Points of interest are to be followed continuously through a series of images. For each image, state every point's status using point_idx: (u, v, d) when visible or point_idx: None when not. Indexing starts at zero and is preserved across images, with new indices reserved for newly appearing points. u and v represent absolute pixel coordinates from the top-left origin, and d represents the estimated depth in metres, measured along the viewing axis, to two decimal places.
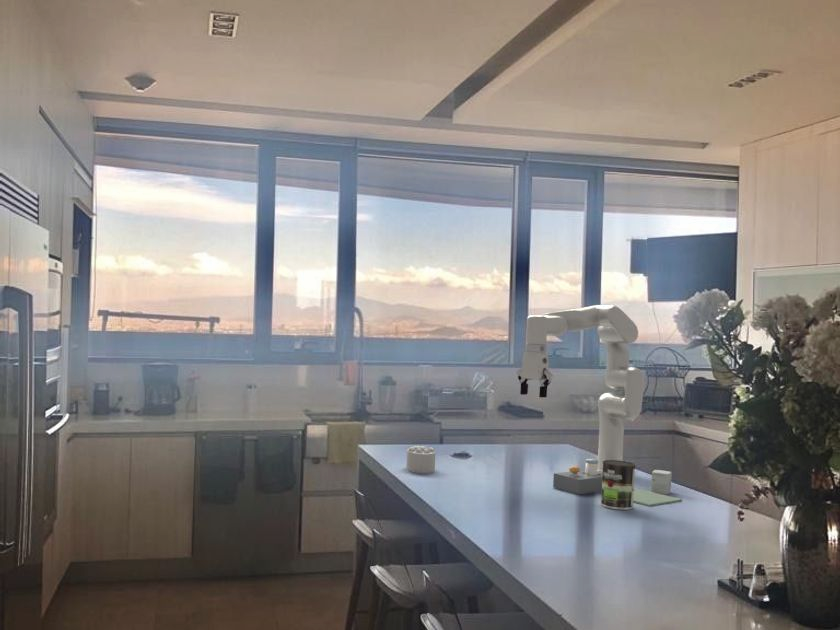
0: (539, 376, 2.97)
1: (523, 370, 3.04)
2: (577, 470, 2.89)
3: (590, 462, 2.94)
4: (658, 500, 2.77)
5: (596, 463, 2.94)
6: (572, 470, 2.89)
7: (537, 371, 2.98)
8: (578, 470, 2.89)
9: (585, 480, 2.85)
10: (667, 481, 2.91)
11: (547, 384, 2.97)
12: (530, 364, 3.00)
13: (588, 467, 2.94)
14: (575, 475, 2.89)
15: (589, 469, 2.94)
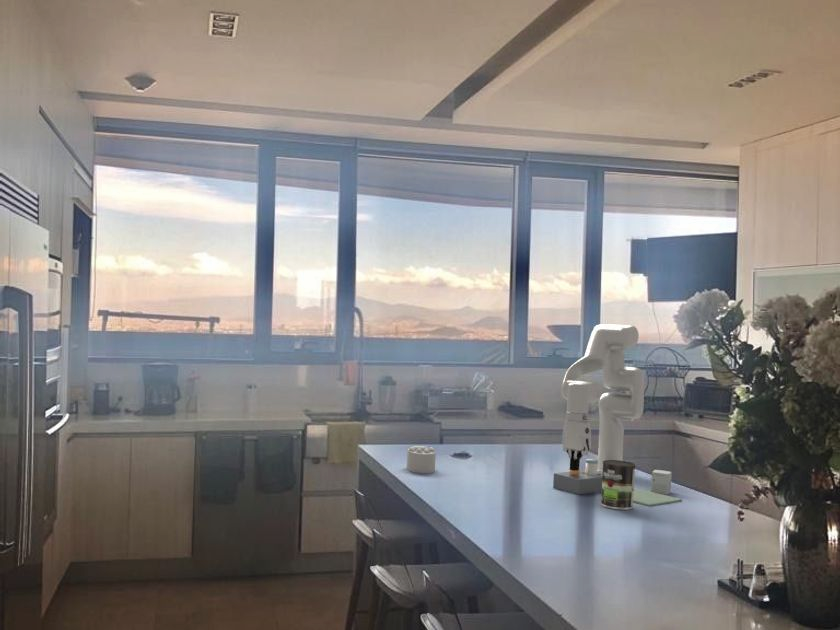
0: (581, 447, 2.85)
1: (564, 439, 2.92)
2: (577, 473, 2.89)
3: (590, 462, 2.94)
4: (658, 500, 2.77)
5: (596, 463, 2.94)
6: (572, 473, 2.89)
7: (579, 441, 2.86)
8: (578, 473, 2.89)
9: (585, 480, 2.85)
10: (667, 481, 2.91)
11: (580, 457, 2.88)
12: (571, 434, 2.88)
13: (588, 467, 2.94)
14: None
15: (589, 469, 2.94)
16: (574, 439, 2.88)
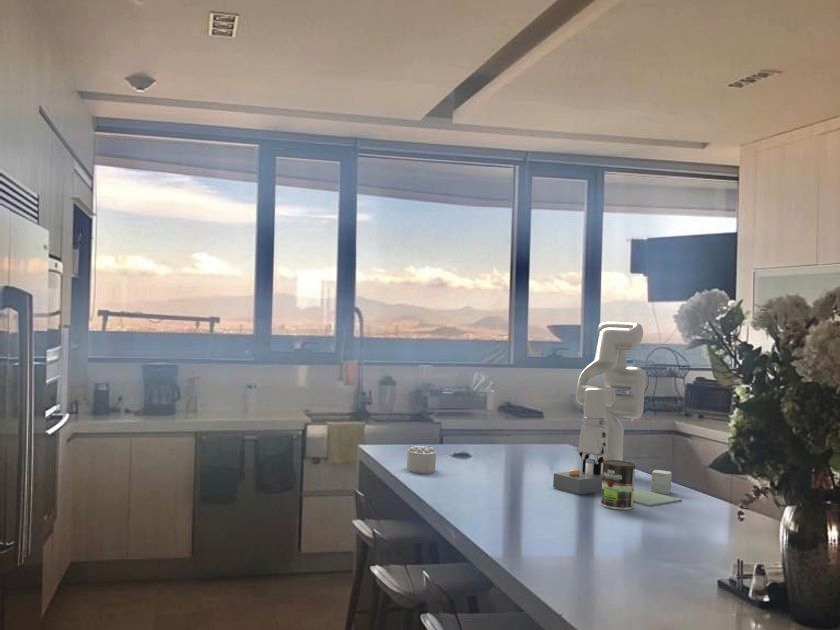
0: (598, 451, 2.91)
1: (581, 443, 2.97)
2: (577, 473, 2.89)
3: (590, 462, 2.94)
4: (658, 500, 2.77)
5: None
6: (572, 473, 2.89)
7: (596, 446, 2.91)
8: (578, 473, 2.89)
9: (585, 480, 2.85)
10: (667, 481, 2.91)
11: (601, 461, 2.92)
12: (588, 438, 2.94)
13: (588, 467, 2.94)
14: None
15: (589, 469, 2.94)
16: (591, 443, 2.93)
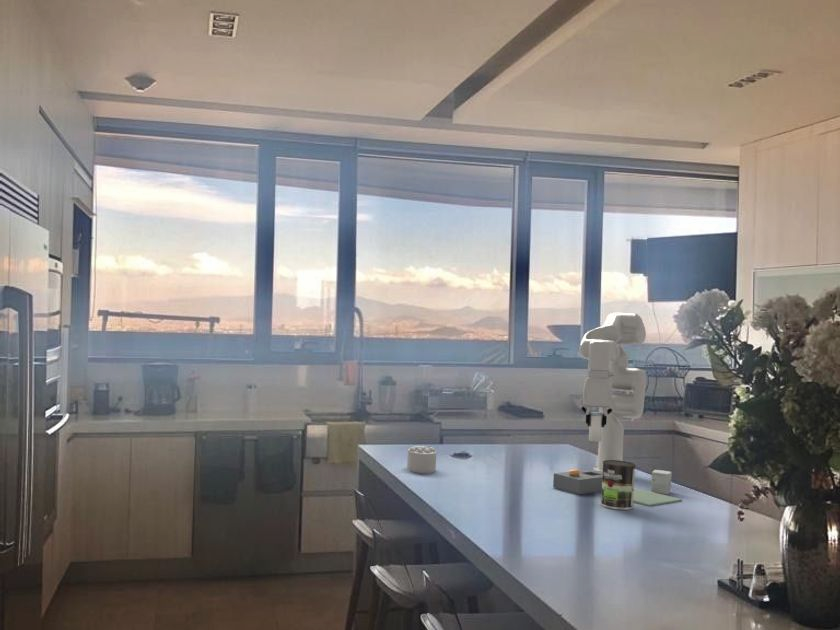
0: (610, 403, 2.93)
1: (587, 397, 2.94)
2: (577, 473, 2.89)
3: (599, 415, 2.93)
4: (658, 500, 2.77)
5: (602, 415, 2.95)
6: (572, 473, 2.89)
7: (608, 398, 2.93)
8: (578, 473, 2.89)
9: (585, 480, 2.85)
10: (667, 481, 2.91)
11: (608, 413, 2.95)
12: (598, 391, 2.93)
13: (597, 420, 2.93)
14: None
15: (598, 422, 2.93)
16: (601, 396, 2.93)
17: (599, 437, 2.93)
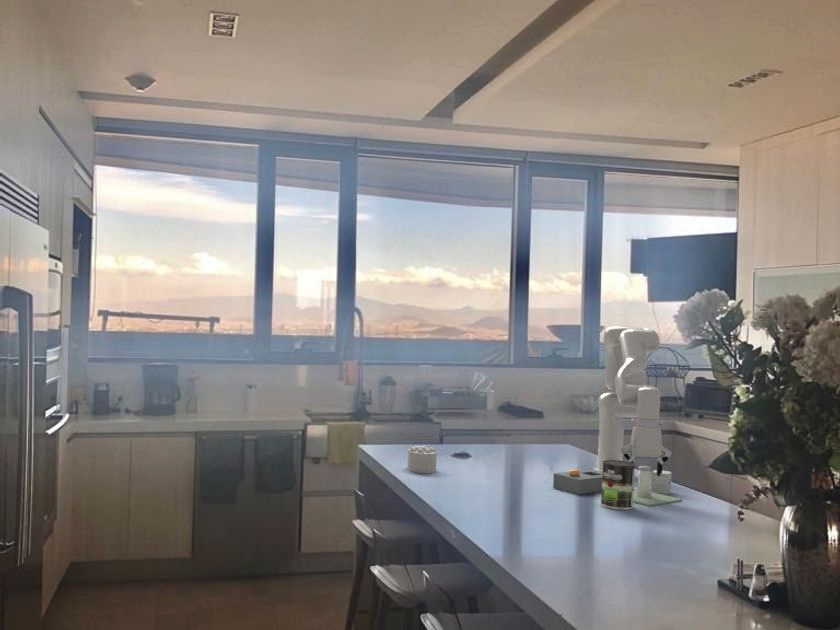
0: (660, 453, 2.80)
1: (636, 447, 2.81)
2: (577, 473, 2.89)
3: (649, 470, 2.80)
4: (658, 500, 2.77)
5: (651, 470, 2.82)
6: (572, 473, 2.89)
7: (658, 448, 2.80)
8: (578, 473, 2.89)
9: (585, 480, 2.85)
10: (667, 481, 2.91)
11: None
12: (648, 441, 2.80)
13: (647, 475, 2.80)
14: None
15: (647, 478, 2.80)
16: (651, 446, 2.80)
17: (649, 493, 2.80)
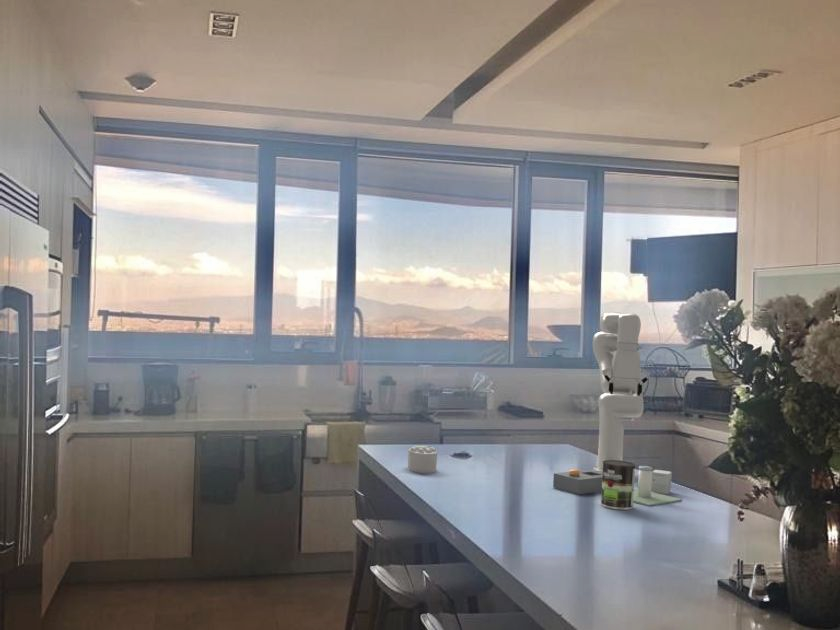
0: (639, 375, 3.00)
1: (617, 369, 3.01)
2: (577, 473, 2.89)
3: (649, 470, 2.80)
4: (658, 500, 2.77)
5: None
6: (572, 473, 2.89)
7: (637, 370, 3.00)
8: (578, 473, 2.89)
9: (585, 480, 2.85)
10: (667, 481, 2.91)
11: (644, 382, 3.02)
12: (627, 363, 3.00)
13: (647, 475, 2.80)
14: None
15: (647, 478, 2.80)
16: (631, 368, 3.00)
17: (649, 493, 2.80)
